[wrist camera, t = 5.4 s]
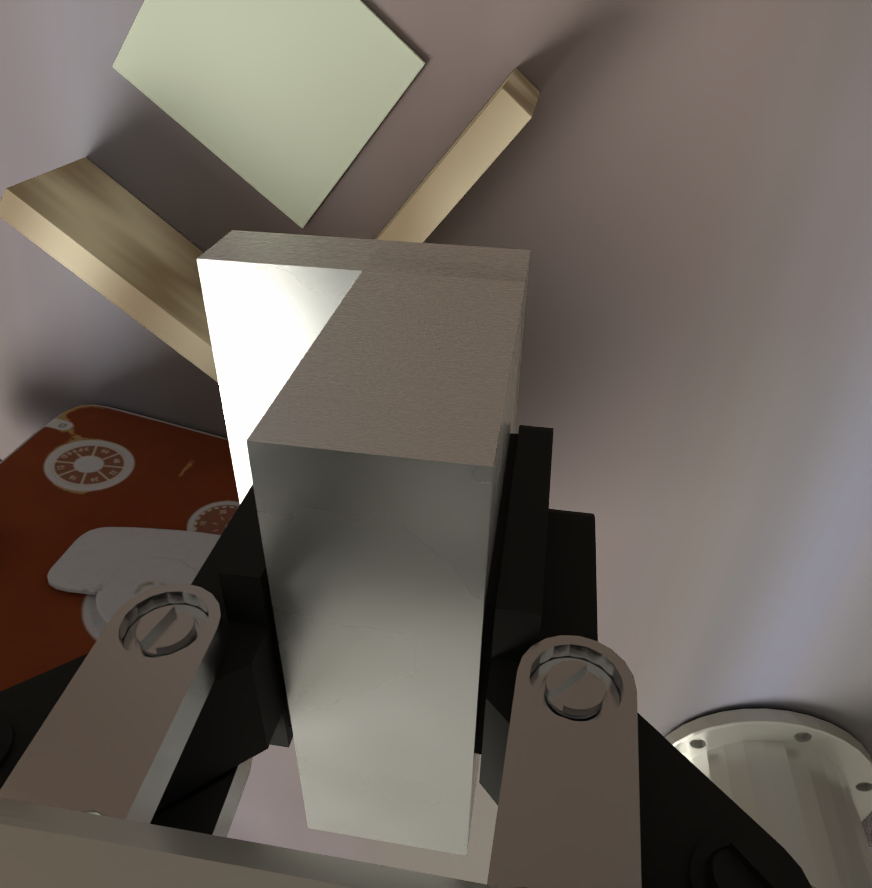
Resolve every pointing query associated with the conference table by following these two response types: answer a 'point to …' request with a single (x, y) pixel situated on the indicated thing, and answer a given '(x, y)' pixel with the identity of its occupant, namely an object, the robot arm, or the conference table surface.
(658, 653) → the conference table surface
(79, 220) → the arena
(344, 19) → the pad
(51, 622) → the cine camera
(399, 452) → the bracket
